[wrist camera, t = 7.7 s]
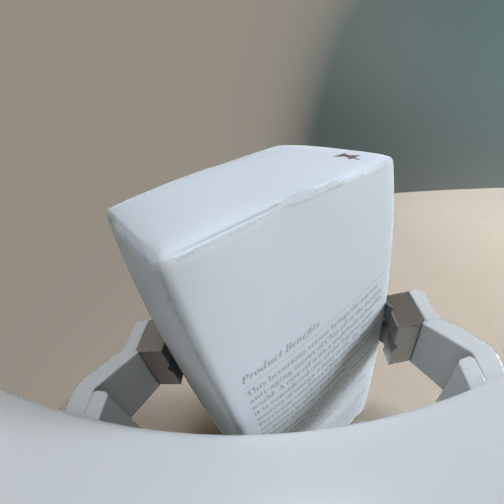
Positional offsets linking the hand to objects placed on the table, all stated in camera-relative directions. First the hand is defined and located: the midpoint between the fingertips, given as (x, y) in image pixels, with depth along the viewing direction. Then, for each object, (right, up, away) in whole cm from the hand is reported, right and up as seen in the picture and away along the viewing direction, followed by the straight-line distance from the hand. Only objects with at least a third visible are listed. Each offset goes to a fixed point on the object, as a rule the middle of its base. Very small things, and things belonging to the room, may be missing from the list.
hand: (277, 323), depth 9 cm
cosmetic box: (+1, -6, +3) cm, 7 cm away
